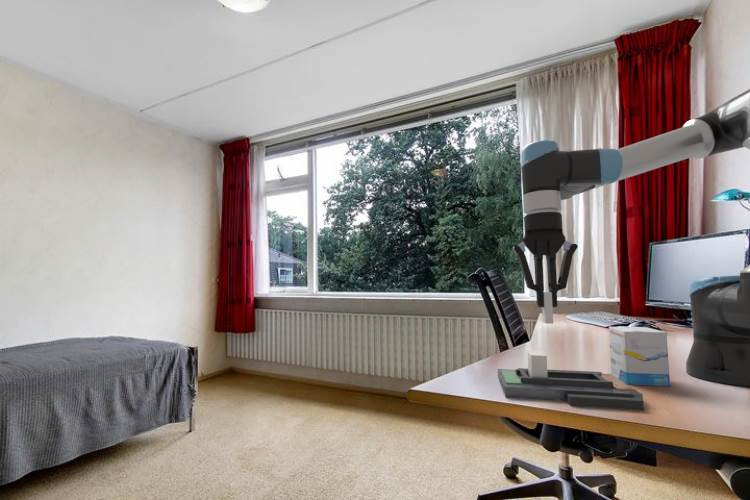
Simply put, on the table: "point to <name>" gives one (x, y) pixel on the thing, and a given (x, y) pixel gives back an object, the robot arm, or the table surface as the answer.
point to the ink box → (639, 355)
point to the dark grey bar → (605, 401)
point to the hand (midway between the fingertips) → (547, 322)
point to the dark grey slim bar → (568, 371)
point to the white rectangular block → (537, 364)
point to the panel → (562, 385)
